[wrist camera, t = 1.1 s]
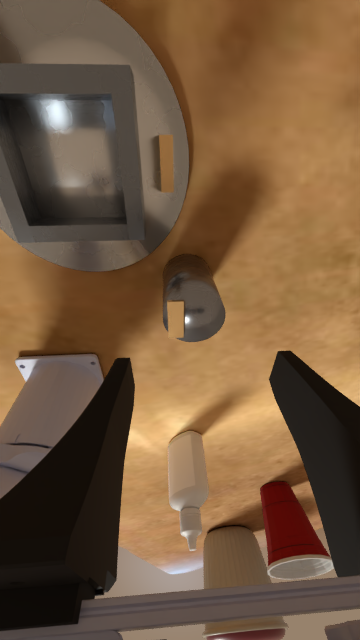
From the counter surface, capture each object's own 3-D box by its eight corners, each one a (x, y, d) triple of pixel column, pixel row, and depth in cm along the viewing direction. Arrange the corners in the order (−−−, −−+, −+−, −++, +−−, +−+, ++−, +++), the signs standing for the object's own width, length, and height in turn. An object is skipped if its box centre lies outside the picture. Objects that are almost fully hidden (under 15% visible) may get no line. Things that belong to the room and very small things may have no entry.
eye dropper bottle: (160, 436, 35) (160, 550, 25) (197, 427, 34) (212, 540, 24) (172, 450, 37) (175, 558, 27) (206, 441, 36) (223, 549, 27)
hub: (186, 266, 20) (189, 280, 18) (9, 270, 19) (-9, 286, 17) (190, -10, 12) (197, -44, 9) (-118, -18, 11) (-185, -57, 9)
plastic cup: (297, 469, 44) (336, 561, 34) (304, 489, 50) (339, 572, 40) (240, 483, 46) (261, 573, 36) (253, 501, 52) (275, 582, 42)
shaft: (208, 297, 22) (222, 342, 17) (163, 298, 21) (164, 345, 16) (211, 253, 19) (229, 291, 14) (161, 254, 19) (161, 293, 14)
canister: (217, 517, 57) (240, 677, 40) (276, 523, 62) (319, 665, 45) (182, 539, 66) (189, 677, 49) (236, 543, 71) (260, 668, 54)
